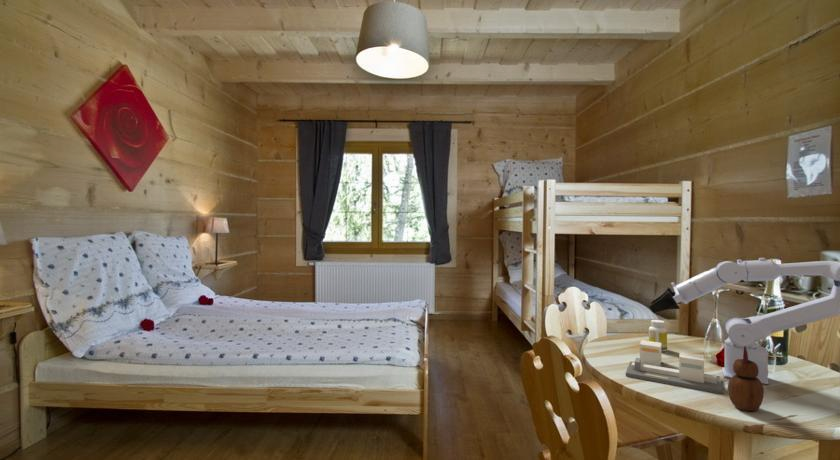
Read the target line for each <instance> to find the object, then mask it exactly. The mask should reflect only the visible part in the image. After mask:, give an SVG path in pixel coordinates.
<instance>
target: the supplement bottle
mask: <svg viewBox="0 0 840 460" xmlns="http://www.w3.org/2000/svg"><path fill="white" fill-rule="evenodd" d="M665 323H666V322H665V321H664V320H660V319H651V321H650V324H651V325H650V326H649V328H648V341H652V342H659V343H662V352H666V351H668V329H667V328H666V327H665Z"/></svg>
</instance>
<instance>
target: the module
mask: <svg viewBox="0 0 840 460" xmlns="http://www.w3.org/2000/svg"><path fill="white" fill-rule="evenodd" d="M662 353H663V351H662V343H659V342H652V341H649V340H644V339H641V340H640V343H639V358H641V363H643V364H649V365H655V366H661V367H662V365H661V364H662V356H663V355H662Z"/></svg>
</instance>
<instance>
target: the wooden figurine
mask: <svg viewBox="0 0 840 460" xmlns="http://www.w3.org/2000/svg"><path fill="white" fill-rule="evenodd" d="M733 371H734V373H735V374H736V375H734V376H733V377H732V378H729V381H728V384H727V393H728V398H729V399H730V402H731V403H732V405H733V406H734V407H736V408H738V409H739V410H741V411H746V412H755V411H757V410H759V409H760V407H761V405H762V403H763V400H764V396H765V394H764V393H765V391H764V387H763V386H764V384H763V383H761V381H760V380H759V379H758V378H756V377H757V376H758V373H759V370H758V365H757V364H756V363H755V362H753V361H750V360H748V353H747V350H746V347H745V346H744V354H743V359H737V360H736V361H735V362H734V364H733Z"/></svg>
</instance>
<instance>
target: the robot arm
mask: <svg viewBox="0 0 840 460" xmlns="http://www.w3.org/2000/svg"><path fill="white" fill-rule="evenodd" d="M780 276H781V277H783V276H786V277H787V276H788V277H789V276H794V277H795V276H797V277H798V276H822V277H825V278H828V279H830V280H833V286H832V289H831V291H830V293H829V295H826V296H823V297H820V298H817V299H813V300H810V301H806V302H803V303H799V304H796V305H793V306H789V307H787V308H782V309H778V310H776V311H773V312H769V313H766V314H762V315H755V316H754V315H753V316H749V317H745V318H743V317H733V318H730V319H729V320H727V322H725V325H724V328H725V332H726V334H727V336H728V337H727V339H725V340H724V366H723V367H721V370H722V374H723V377H724V378H729V379H731V378H732V377H733V376H734V375H736V374H735V373H734V371H733V364H734V362H735V361H736V360H737V359H743V354H744V346H745V347H746V350H747V353H748V360H750V361H753V362H755V363H756V364H757V365H758V370H759V373H758V376H757V377H756V378H758V379H759V380H760V381H761V383H762V384H763V385H764V384H765V385H768V384H769V381H768V379H769V359H768V357H769V356H768V350H767V348H766V347H761V346H758V343H757V342H759V341H760V340H764V339H767V338H768V337H769V336H770V335H772V334H774V333H778V332H783V331H785V330H790V329H793V328H797V327H800V326H801V327H802V326H805V325H808V324H810V323H811V324H812V323H815V322H819V321H823V320H827V319H829V318H834V317H837V316H840V261H835V260H819V261H818V260H816V261H805V262H804V261H803V262H801V261H800V262H791V263H789V262H788V263H777V262H776V261H773V260H772V259H766V258H765V257H759V258H758V260H755V259H754V260H742V259H737V260H736V262H734V261H731V260H726V261H720V262H719V263H718V264H716V266H715V267H713V268H709V270H705V271H703V272H701V273H698V274H697V275H695V276H692V277H690V278H688V279H686V280H684V281H682V282H680V283H678V284H676V283H675V282H674V281H673V282H671V283H670V284H671V286H672V288H673V290H674V291H672V289H671V288H670V287H667V289H665V291H664V292H663V293H662V294H661V295H659V296H658V297H656V298H655V299H654V300H652V301H651V303H650V304H651V305H649V306H648V307H649V309H650V310H651V312H652V313H653V314H654V313H655V314H656V313H659V312H664V311H666V310H667V311H668V310H679V309H681V307H680V306H679V305H680V304H682V303H683V304H684V305H688V304H689V303H690V302H692V301H694V300H697V299H698V298H701V297H702V296H705V295H707V294H709V293H710V294H711V293H712V292H714V291H716V290H719V289H720V288H721V287H724V286H726V285H729V283H730V284H737V283H739V282H741V281H743V282H769V281H770V282H772V281H775V280H776V279H777V278H778V277H780Z"/></svg>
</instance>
